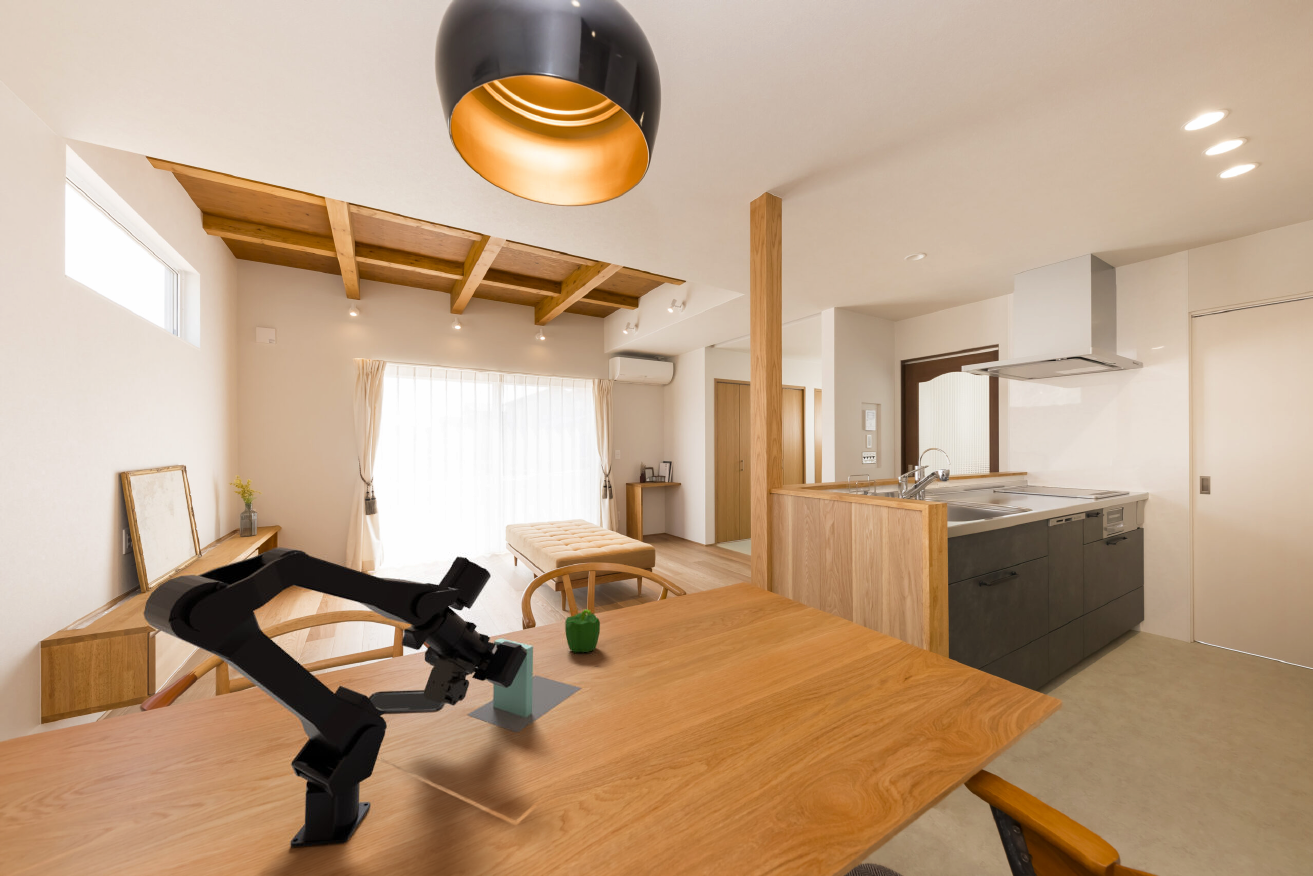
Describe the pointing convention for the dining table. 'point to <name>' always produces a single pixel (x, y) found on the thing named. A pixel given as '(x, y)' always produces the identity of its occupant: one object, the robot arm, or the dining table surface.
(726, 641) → the dining table surface
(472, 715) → the mat
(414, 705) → the phone
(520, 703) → the teal board
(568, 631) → the bell pepper
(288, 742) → the dining table surface
